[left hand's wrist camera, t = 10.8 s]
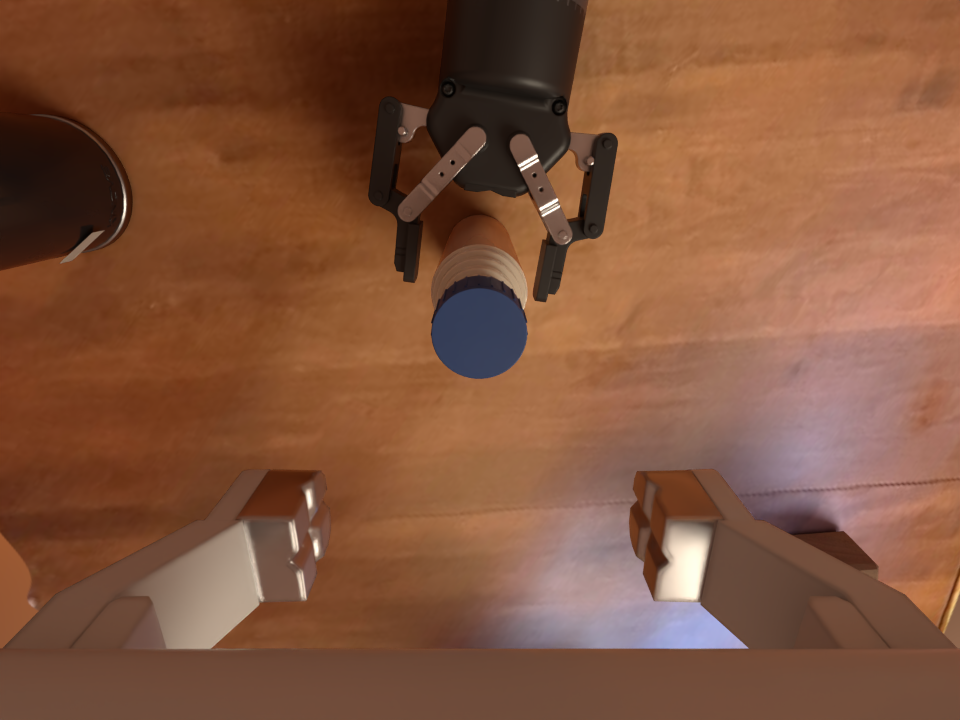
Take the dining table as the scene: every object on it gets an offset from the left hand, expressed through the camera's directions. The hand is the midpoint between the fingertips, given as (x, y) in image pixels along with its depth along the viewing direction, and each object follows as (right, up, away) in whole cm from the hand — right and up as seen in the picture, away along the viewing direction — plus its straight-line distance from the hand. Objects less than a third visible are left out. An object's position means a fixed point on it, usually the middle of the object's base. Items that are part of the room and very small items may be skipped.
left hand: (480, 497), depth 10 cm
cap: (0, +4, +10) cm, 10 cm away
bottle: (0, +11, +29) cm, 31 cm away
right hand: (0, +7, +23) cm, 25 cm away
